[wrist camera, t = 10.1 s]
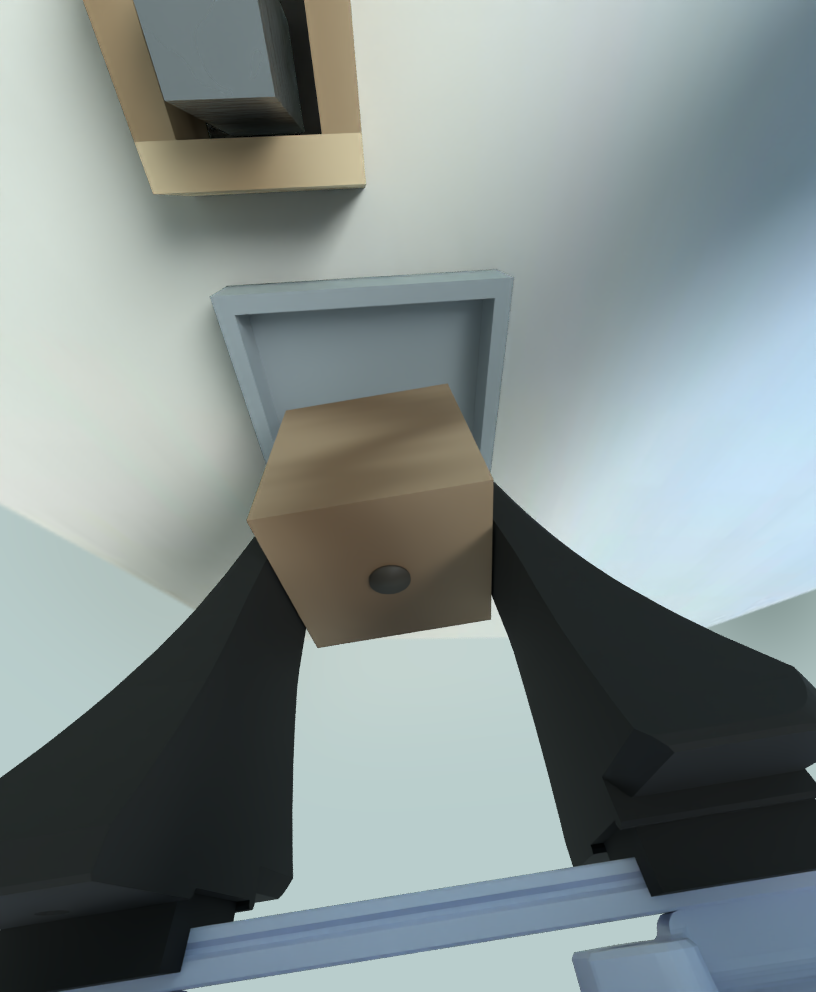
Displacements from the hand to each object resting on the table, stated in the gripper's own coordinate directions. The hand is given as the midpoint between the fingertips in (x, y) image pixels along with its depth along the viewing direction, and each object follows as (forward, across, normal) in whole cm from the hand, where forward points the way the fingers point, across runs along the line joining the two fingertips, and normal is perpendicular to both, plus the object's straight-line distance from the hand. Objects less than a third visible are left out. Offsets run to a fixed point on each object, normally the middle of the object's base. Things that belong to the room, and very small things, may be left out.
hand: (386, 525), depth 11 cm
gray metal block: (+8, +2, -10) cm, 13 cm away
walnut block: (+3, 0, 0) cm, 3 cm away
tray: (+8, 0, 0) cm, 8 cm away
